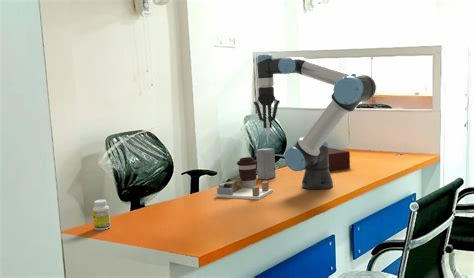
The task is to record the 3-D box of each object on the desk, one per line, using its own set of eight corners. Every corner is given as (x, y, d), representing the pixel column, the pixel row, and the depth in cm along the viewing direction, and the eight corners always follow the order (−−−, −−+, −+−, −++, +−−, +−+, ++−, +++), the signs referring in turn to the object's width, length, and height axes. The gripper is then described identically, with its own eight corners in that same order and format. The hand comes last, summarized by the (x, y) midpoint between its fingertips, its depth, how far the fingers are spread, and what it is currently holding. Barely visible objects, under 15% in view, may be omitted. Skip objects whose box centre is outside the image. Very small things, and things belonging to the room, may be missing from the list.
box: (352, 168, 317) (352, 151, 315) (328, 171, 310) (327, 154, 308) (330, 163, 335) (330, 147, 334) (307, 166, 328) (307, 149, 327)
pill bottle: (95, 226, 221) (93, 199, 219) (111, 225, 221) (109, 198, 220) (93, 231, 214) (90, 203, 213) (109, 230, 215) (107, 202, 214)
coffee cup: (253, 190, 271) (251, 159, 269) (235, 189, 275) (233, 159, 274) (261, 185, 280) (259, 156, 278) (244, 185, 284) (242, 156, 282)
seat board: (272, 191, 266) (272, 181, 266) (259, 199, 252) (258, 188, 252) (231, 189, 276) (230, 179, 275) (216, 196, 262) (215, 185, 261)
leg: (237, 187, 274) (236, 177, 273) (242, 187, 273) (242, 177, 272) (224, 193, 262) (223, 182, 261) (230, 193, 261) (229, 183, 260)
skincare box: (265, 179, 295) (264, 150, 293) (256, 178, 301) (255, 149, 299) (276, 177, 301) (275, 148, 299) (267, 175, 306) (266, 147, 304)
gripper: (277, 85, 275) (278, 133, 278) (251, 87, 273) (253, 134, 276) (280, 86, 268) (282, 134, 271) (254, 87, 265) (256, 136, 268)
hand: (267, 134), depth 273 cm, fingers closed
